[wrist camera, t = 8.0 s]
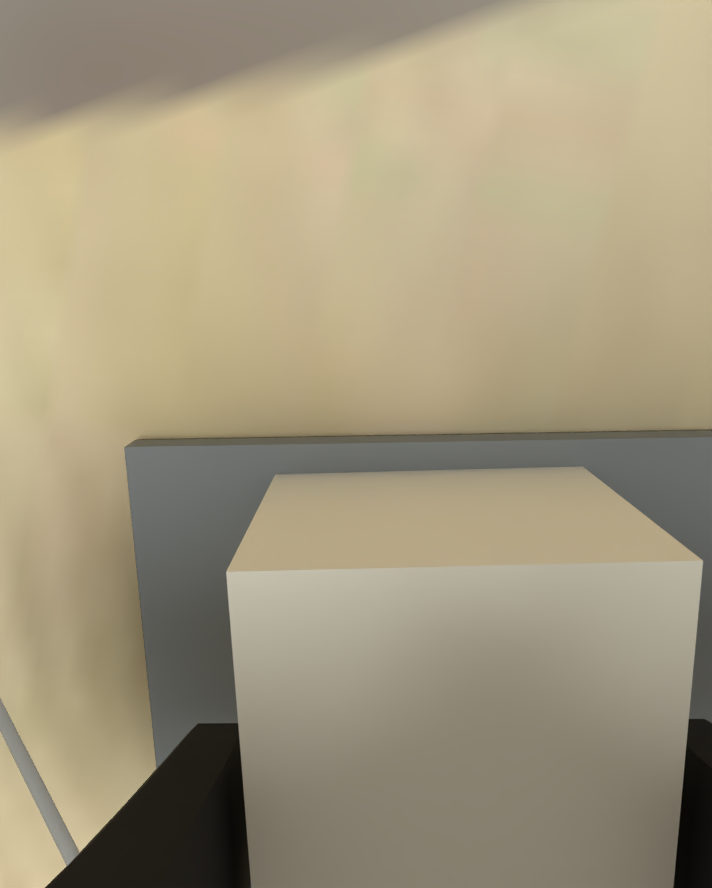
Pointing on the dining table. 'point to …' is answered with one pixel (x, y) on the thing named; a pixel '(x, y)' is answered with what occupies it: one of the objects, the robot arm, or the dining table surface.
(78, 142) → the dining table surface
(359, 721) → the card box
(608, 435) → the mat
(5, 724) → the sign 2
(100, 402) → the dining table surface
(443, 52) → the dining table surface
